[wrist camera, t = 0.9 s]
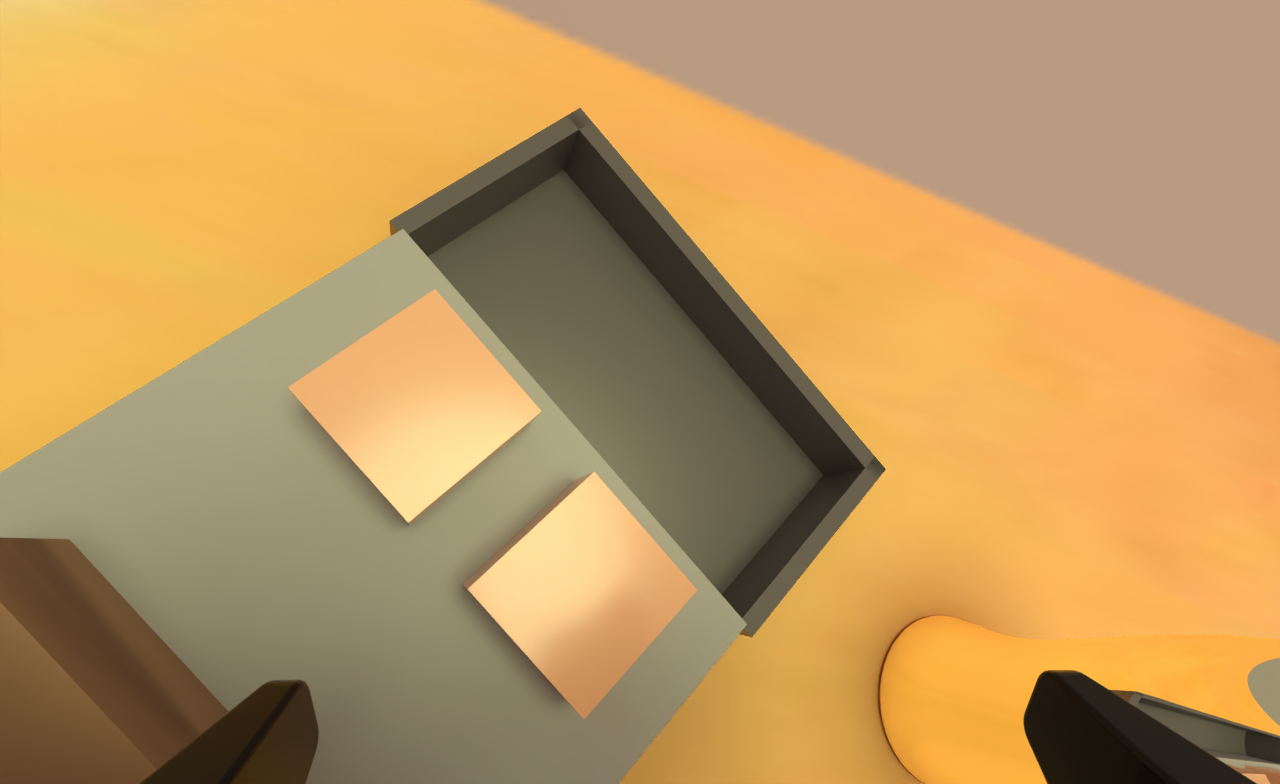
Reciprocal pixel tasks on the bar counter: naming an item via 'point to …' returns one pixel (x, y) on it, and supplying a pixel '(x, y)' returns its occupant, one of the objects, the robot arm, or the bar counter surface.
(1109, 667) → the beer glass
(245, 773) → the robot arm
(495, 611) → the tile
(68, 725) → the brown wooden plank
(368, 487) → the board
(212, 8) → the bar counter surface
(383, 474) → the tile
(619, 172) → the tray
